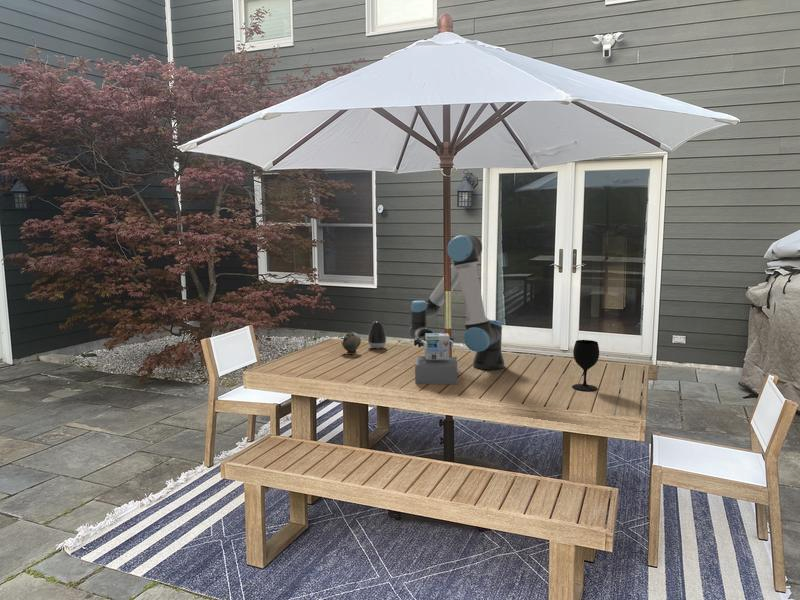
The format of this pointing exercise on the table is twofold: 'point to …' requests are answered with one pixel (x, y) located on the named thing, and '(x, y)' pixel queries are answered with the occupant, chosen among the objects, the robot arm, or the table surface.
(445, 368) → the grey block
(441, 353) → the light bulb box
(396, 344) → the table surface
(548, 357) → the table surface
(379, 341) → the black tapered dome
